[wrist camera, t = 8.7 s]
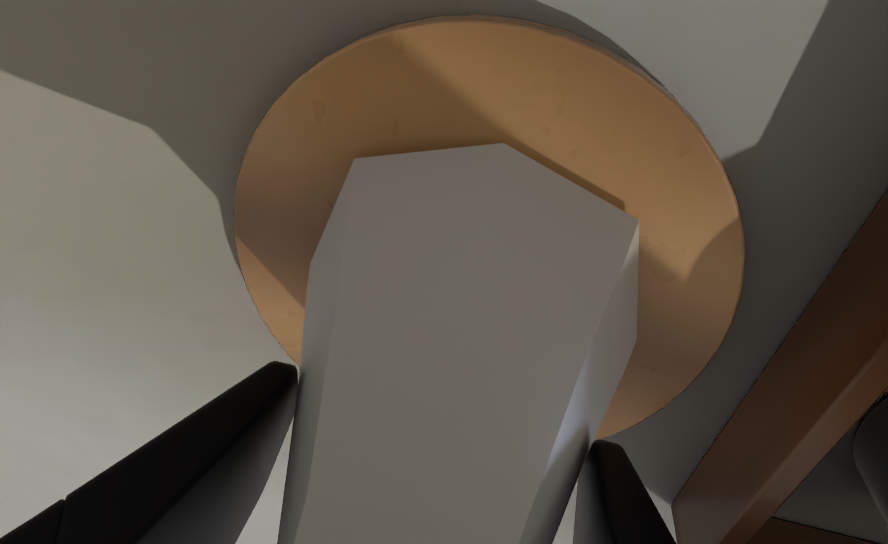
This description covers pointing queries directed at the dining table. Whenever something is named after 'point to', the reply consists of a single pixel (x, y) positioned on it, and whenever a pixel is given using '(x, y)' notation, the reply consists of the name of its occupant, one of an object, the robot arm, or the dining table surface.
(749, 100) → the dining table surface
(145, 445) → the robot arm
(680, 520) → the rack
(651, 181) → the cork trivet
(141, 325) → the dining table surface
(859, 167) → the dining table surface
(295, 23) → the dining table surface
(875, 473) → the pepper pot
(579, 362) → the flask
